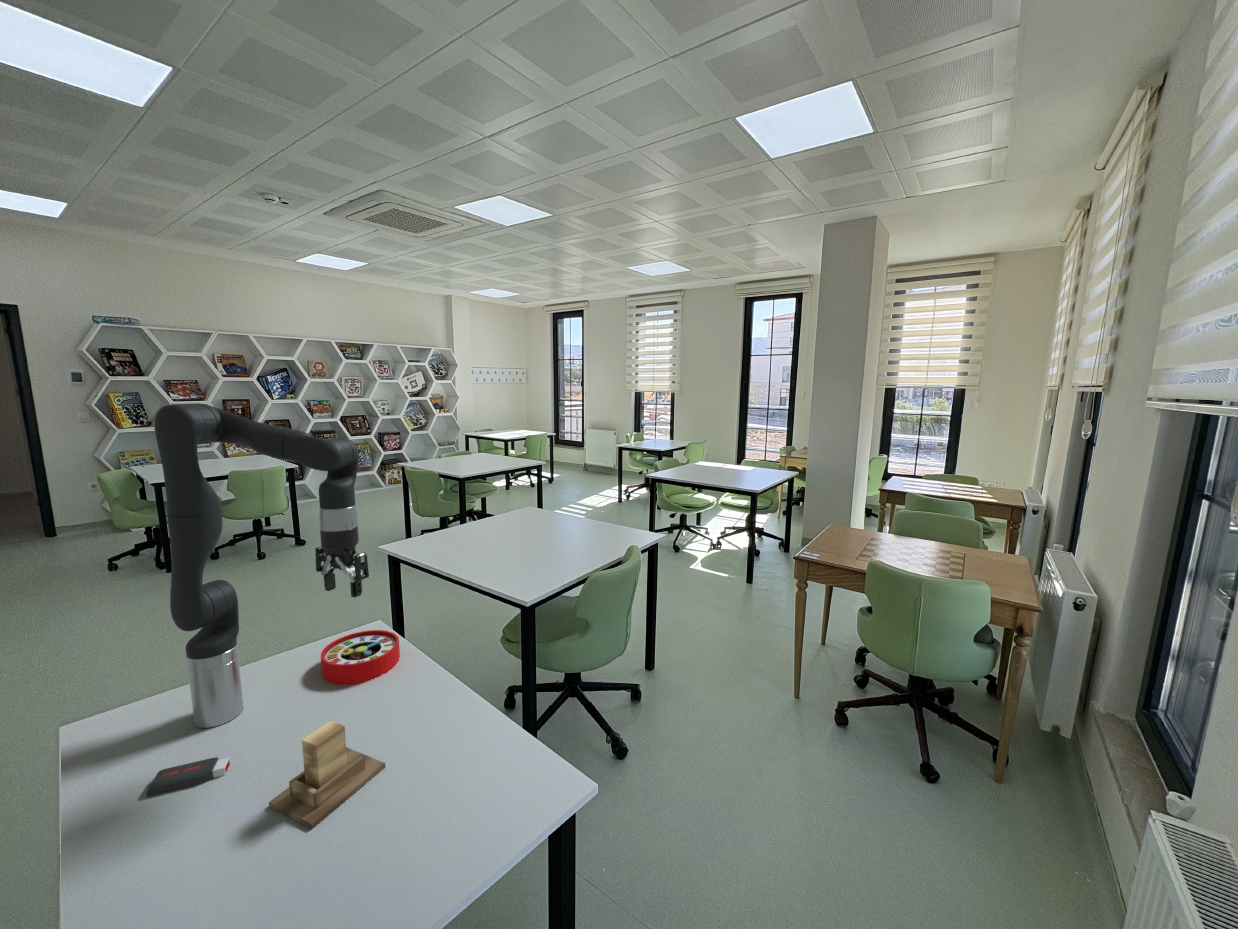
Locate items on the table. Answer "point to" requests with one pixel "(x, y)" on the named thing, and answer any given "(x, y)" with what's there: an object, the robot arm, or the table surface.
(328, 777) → the oak plank
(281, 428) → the robot arm
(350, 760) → the groove board
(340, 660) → the toy clock
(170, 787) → the usb drive
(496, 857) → the table surface
